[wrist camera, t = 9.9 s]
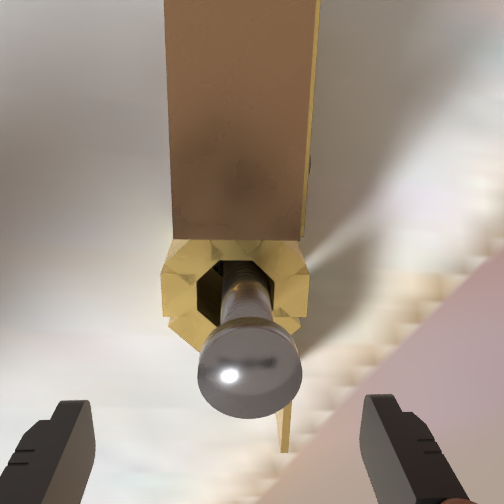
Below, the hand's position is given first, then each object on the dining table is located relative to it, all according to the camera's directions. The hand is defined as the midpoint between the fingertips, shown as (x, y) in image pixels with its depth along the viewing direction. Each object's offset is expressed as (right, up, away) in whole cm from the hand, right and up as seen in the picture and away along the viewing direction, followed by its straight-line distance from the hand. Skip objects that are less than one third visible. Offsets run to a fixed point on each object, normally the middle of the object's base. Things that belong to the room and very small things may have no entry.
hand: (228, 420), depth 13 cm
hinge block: (0, +7, +13) cm, 14 cm away
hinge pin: (0, +5, +13) cm, 14 cm away
